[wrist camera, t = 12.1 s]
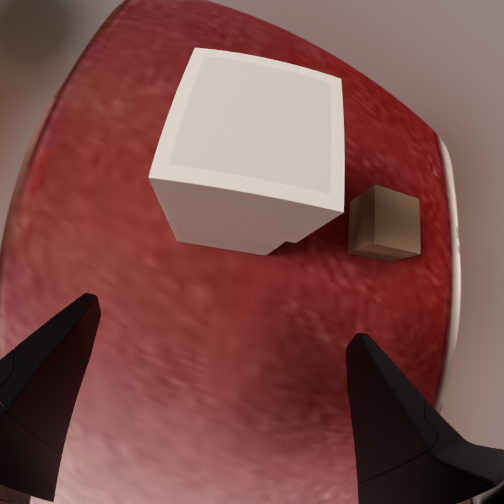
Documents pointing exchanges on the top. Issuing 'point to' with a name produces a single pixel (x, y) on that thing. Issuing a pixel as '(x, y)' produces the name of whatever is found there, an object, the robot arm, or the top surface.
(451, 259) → the top surface
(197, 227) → the white notched block
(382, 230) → the walnut block
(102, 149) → the top surface
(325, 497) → the top surface
